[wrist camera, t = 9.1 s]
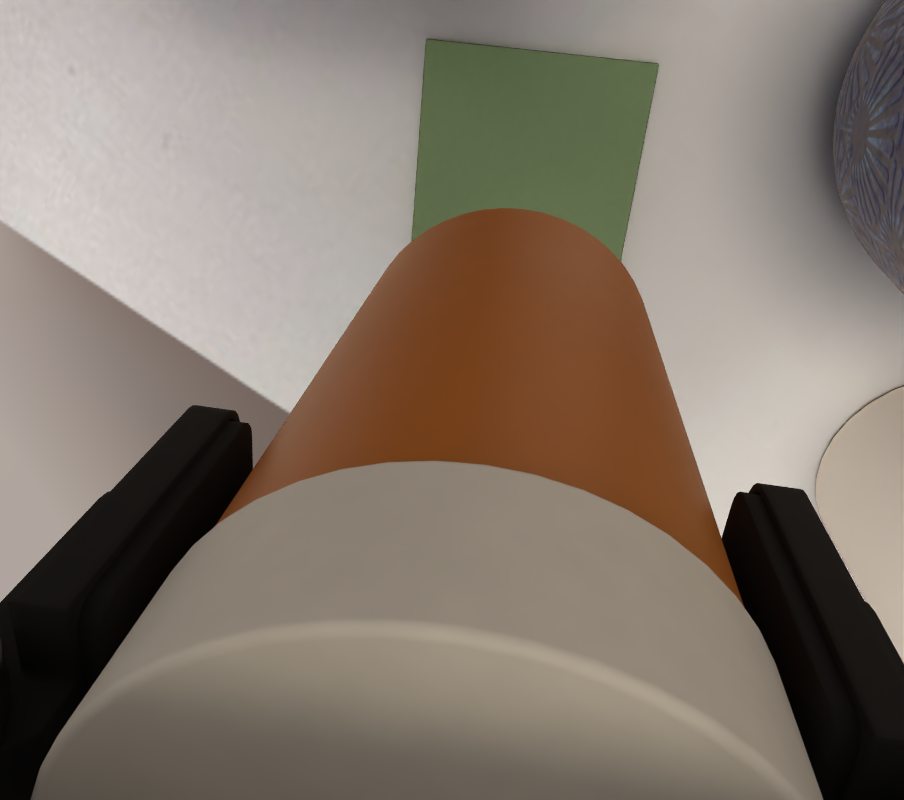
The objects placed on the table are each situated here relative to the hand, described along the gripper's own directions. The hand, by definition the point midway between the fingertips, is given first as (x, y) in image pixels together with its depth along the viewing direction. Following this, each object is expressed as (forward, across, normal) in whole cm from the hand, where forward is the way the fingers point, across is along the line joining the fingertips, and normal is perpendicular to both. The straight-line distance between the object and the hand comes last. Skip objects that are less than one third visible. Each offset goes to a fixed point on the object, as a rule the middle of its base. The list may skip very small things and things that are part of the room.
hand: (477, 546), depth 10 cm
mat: (+29, 0, 0) cm, 29 cm away
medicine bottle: (+7, 0, 0) cm, 7 cm away
